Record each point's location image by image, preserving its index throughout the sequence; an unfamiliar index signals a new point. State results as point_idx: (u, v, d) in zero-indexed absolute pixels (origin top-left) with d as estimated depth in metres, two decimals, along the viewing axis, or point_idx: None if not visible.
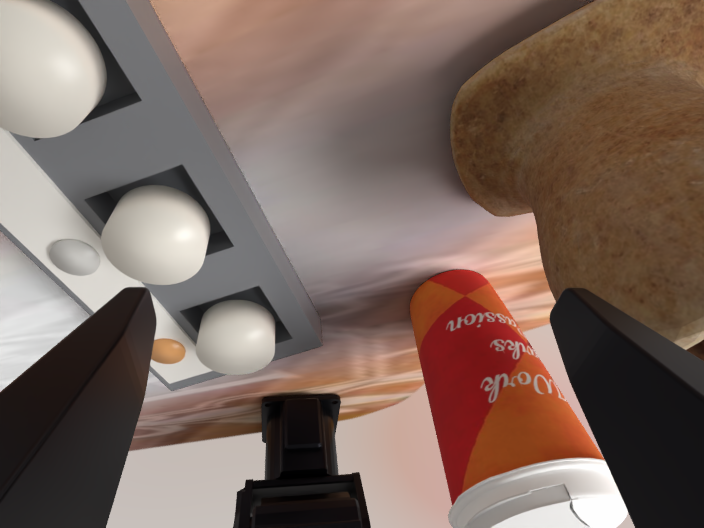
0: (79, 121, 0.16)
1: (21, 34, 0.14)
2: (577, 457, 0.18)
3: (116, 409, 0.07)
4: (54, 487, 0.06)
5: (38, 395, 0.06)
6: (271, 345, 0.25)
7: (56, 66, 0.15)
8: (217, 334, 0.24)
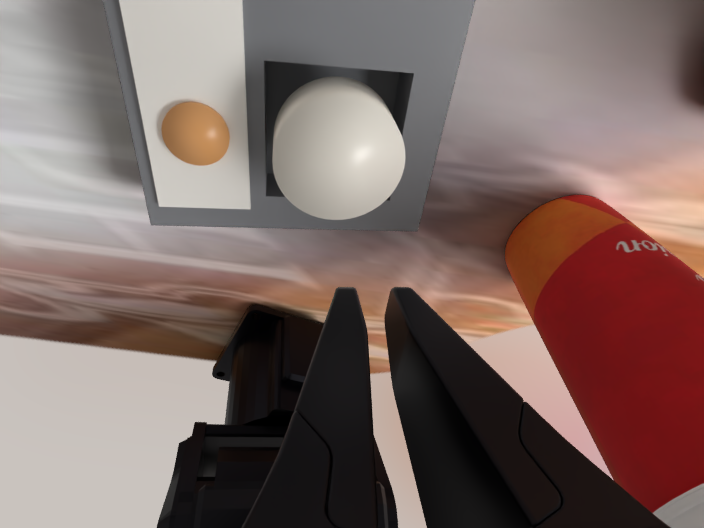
0: None
1: None
2: None
3: None
4: None
5: (340, 384, 0.06)
6: (397, 177, 0.15)
7: None
8: (336, 113, 0.13)
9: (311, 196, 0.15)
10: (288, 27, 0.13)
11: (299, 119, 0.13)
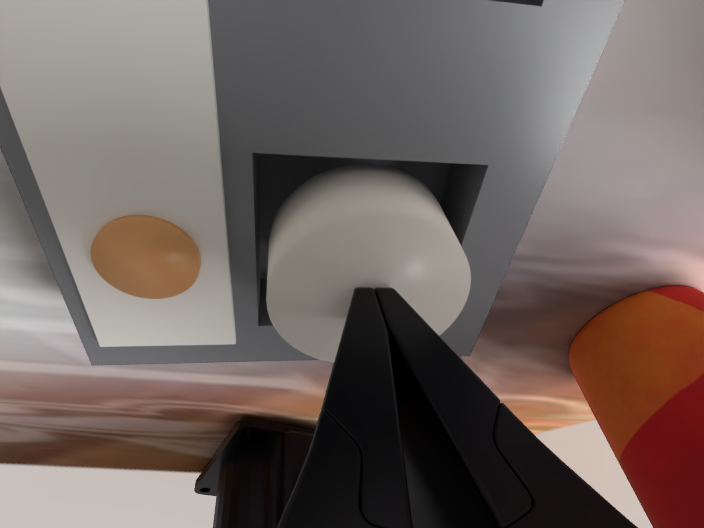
0: None
1: None
2: None
3: None
4: None
5: (365, 383, 0.06)
6: (456, 312, 0.10)
7: None
8: (369, 235, 0.08)
9: (325, 339, 0.10)
10: (292, 103, 0.08)
11: (309, 246, 0.08)
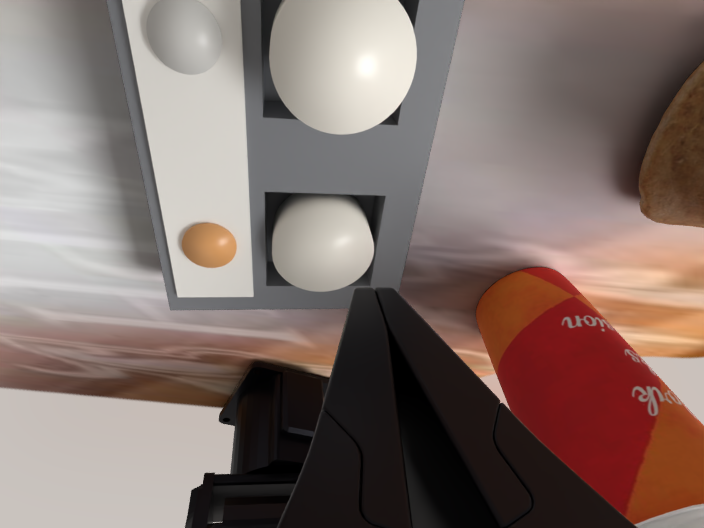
0: None
1: None
2: None
3: None
4: None
5: (365, 384, 0.06)
6: (369, 261, 0.19)
7: None
8: (320, 220, 0.18)
9: (302, 276, 0.19)
10: (283, 169, 0.17)
11: (292, 225, 0.18)
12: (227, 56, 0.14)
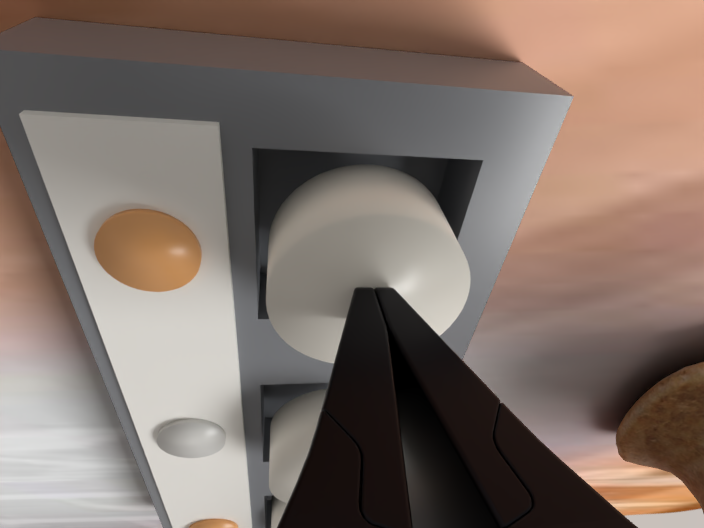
0: None
1: (427, 266, 0.09)
2: None
3: None
4: None
5: (365, 384, 0.06)
6: None
7: (430, 305, 0.10)
8: None
9: None
10: None
11: None
12: (230, 442, 0.15)
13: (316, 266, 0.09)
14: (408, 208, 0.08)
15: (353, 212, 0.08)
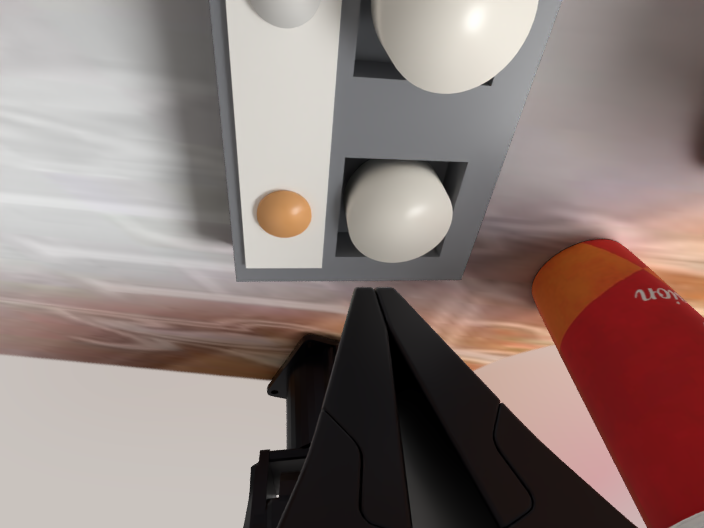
0: None
1: None
2: None
3: None
4: None
5: (365, 383, 0.06)
6: (445, 231, 0.19)
7: None
8: (401, 187, 0.17)
9: (376, 246, 0.19)
10: (367, 133, 0.16)
11: (372, 192, 0.17)
12: (325, 8, 0.13)
13: None
14: None
15: None
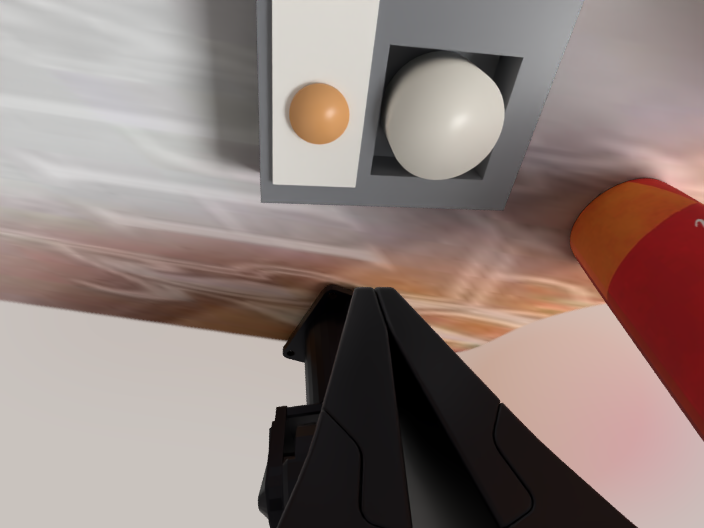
0: None
1: None
2: None
3: None
4: None
5: (365, 383, 0.06)
6: (494, 140, 0.17)
7: None
8: (451, 80, 0.15)
9: (418, 157, 0.17)
10: (417, 13, 0.14)
11: (419, 86, 0.15)
12: None
13: None
14: None
15: None
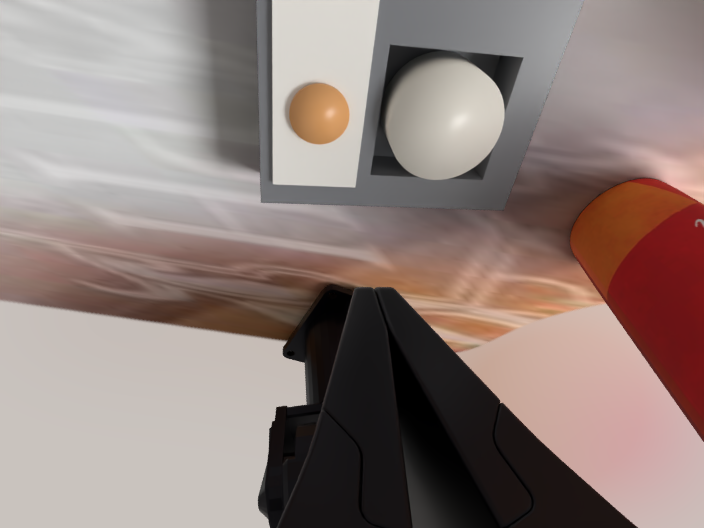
0: None
1: None
2: None
3: None
4: None
5: (365, 384, 0.06)
6: (494, 140, 0.17)
7: None
8: (451, 80, 0.15)
9: (418, 157, 0.17)
10: (417, 13, 0.14)
11: (419, 86, 0.15)
12: None
13: None
14: None
15: None
